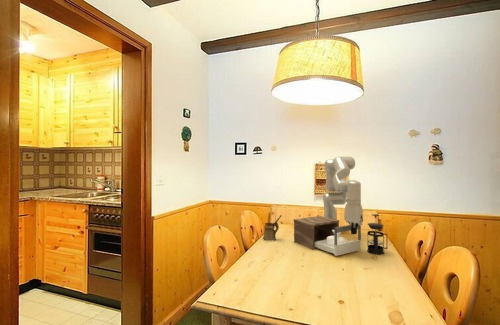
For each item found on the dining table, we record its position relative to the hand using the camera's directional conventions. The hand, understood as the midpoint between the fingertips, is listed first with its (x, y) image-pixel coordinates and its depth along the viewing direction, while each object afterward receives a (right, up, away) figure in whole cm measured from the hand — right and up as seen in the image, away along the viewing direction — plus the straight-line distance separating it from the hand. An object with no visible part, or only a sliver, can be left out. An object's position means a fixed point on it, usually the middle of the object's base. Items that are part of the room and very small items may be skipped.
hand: (353, 233), depth 155 cm
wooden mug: (-45, -14, +34) cm, 58 cm away
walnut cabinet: (-15, -13, +26) cm, 33 cm away
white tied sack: (-6, -11, +11) cm, 17 cm away
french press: (+16, -13, +7) cm, 22 cm away
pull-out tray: (-6, -12, +11) cm, 17 cm away
